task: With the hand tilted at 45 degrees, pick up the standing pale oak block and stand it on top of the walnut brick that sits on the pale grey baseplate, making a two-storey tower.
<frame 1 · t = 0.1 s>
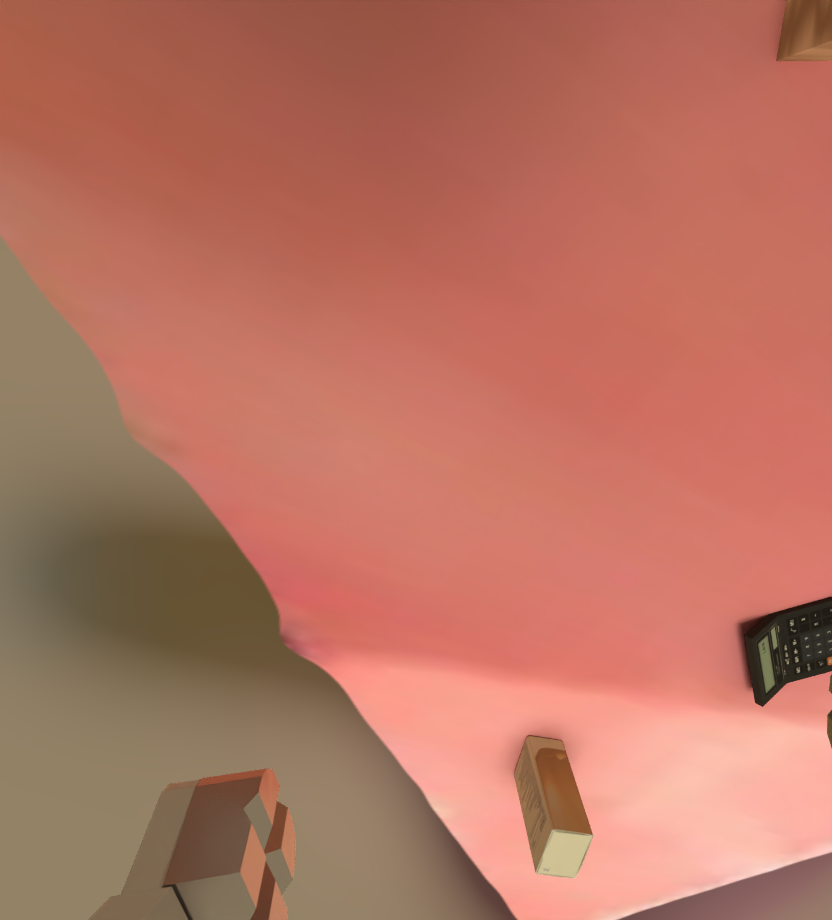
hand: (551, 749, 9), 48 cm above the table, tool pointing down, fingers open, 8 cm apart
calculator: (791, 639, 69), on the table
oak block: (808, 29, 48), on the table
skincare box: (537, 755, 74), on the table
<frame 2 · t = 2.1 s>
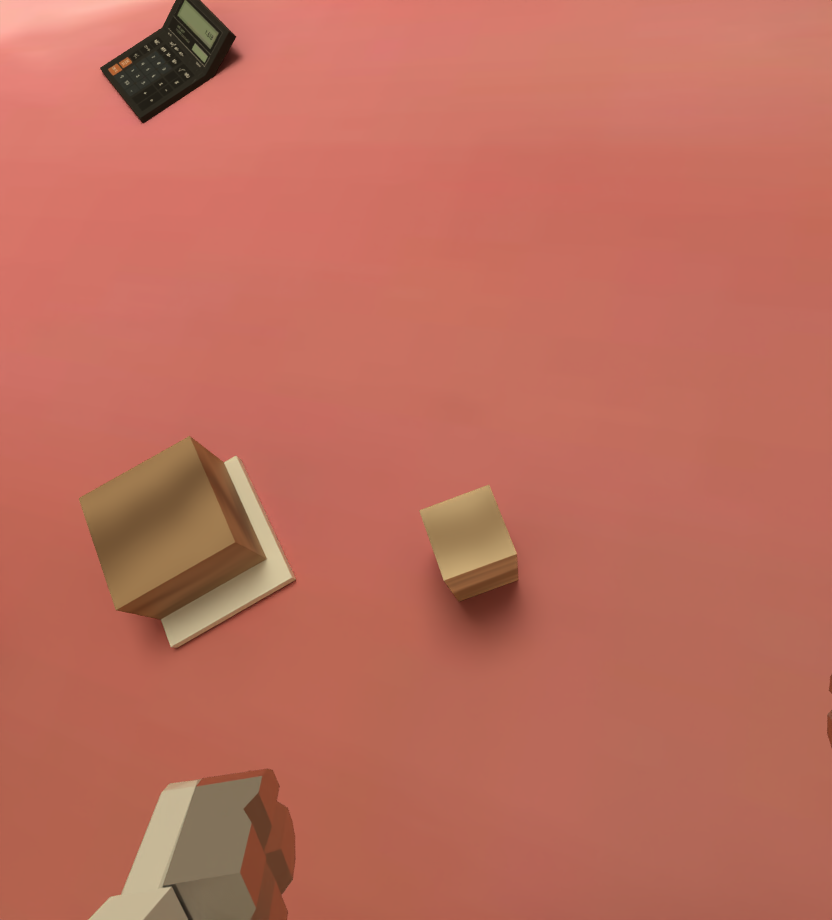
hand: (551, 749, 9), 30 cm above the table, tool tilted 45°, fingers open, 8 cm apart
calculator: (175, 69, 63), on the table
oak block: (477, 561, 41), on the table
walnut brick: (193, 538, 44), point 1 cm above the table, touching baseplate
baseplate: (210, 549, 44), on the table
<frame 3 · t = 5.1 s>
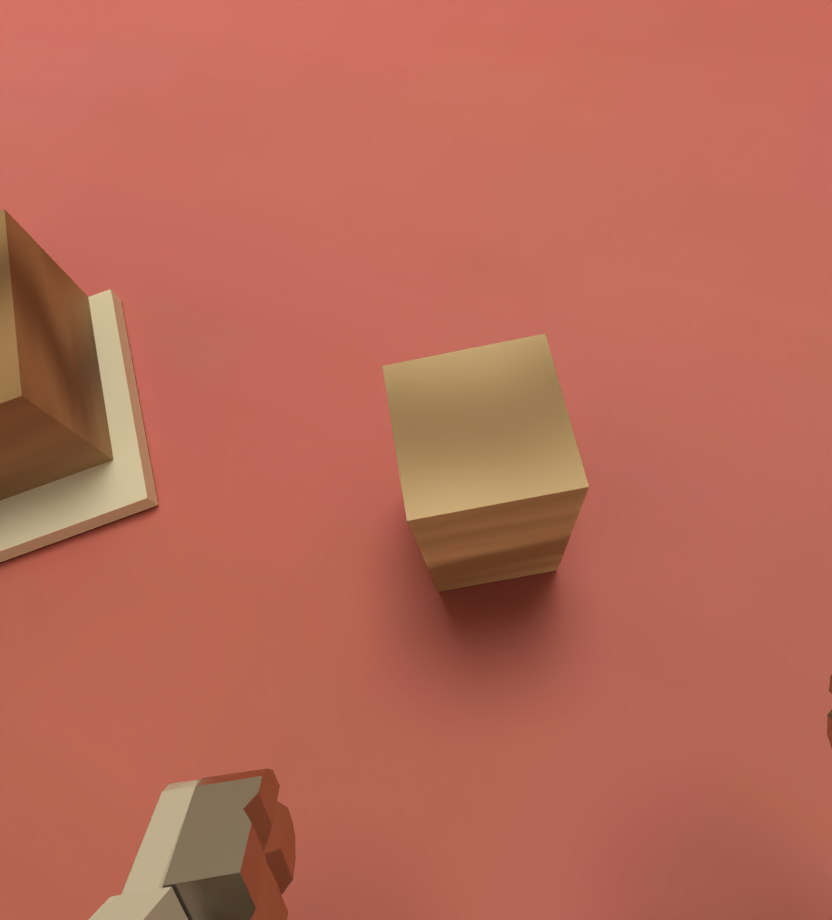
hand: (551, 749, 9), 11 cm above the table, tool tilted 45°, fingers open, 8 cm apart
oak block: (485, 524, 22), on the table
walnut brick: (3, 407, 25), point 1 cm above the table, touching baseplate
baseplate: (31, 433, 26), on the table
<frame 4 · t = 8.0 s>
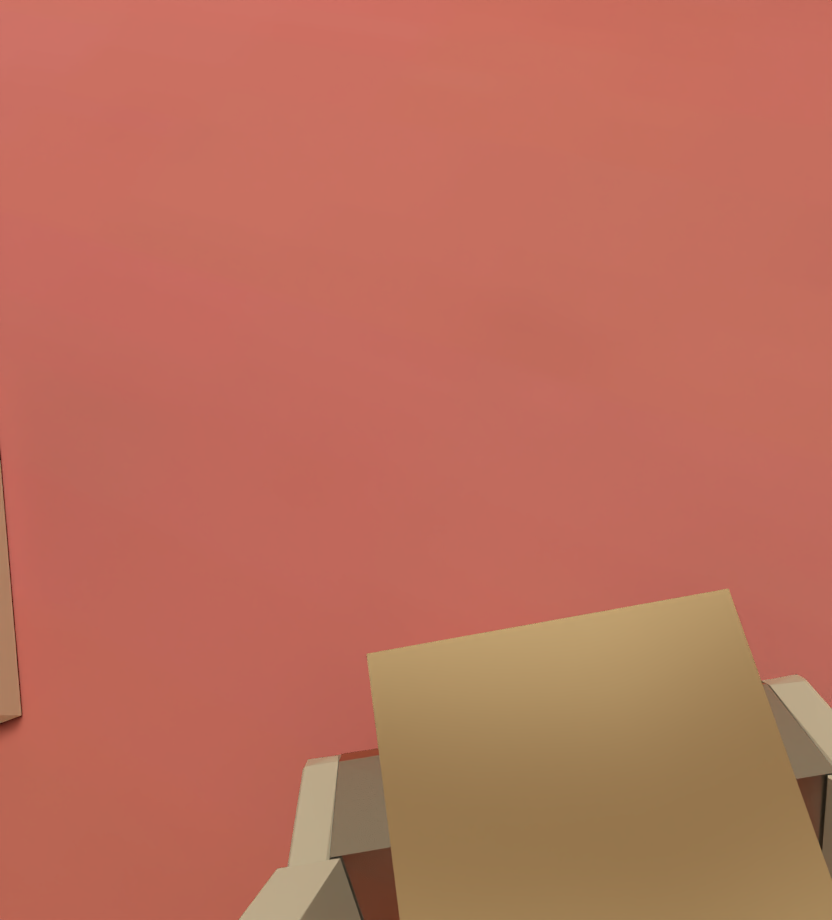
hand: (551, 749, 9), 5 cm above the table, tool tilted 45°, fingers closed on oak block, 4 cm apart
oak block: (538, 771, 14), on the table, touching gripper
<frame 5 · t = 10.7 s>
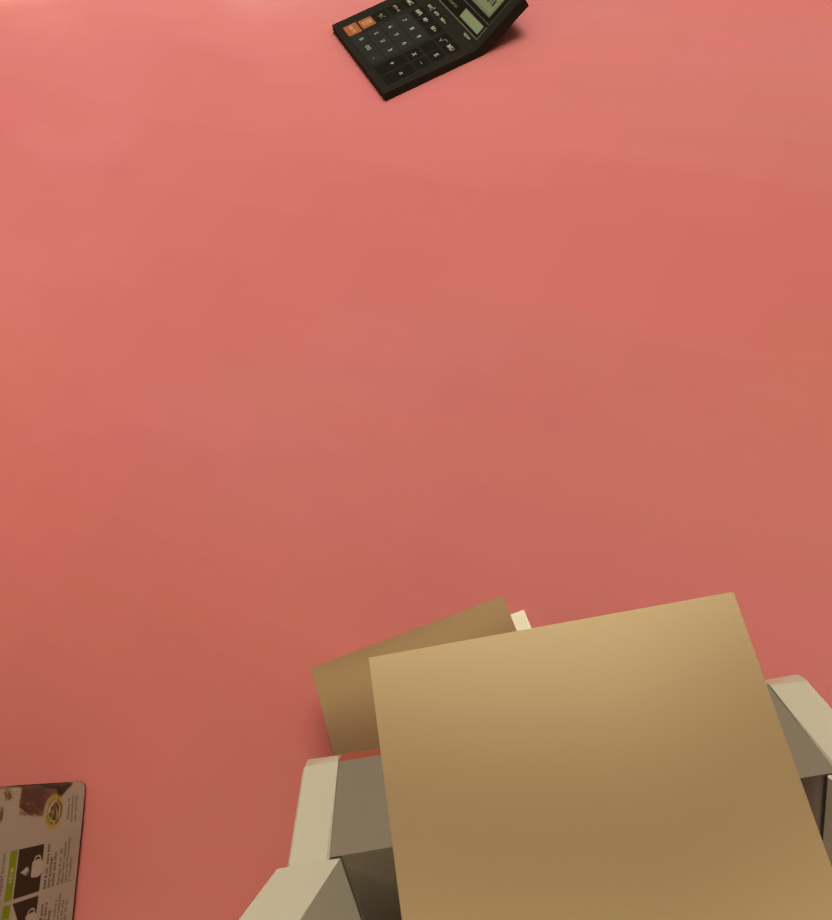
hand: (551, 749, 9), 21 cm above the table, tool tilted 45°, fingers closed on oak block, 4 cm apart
calculator: (428, 39, 48), on the table
oak block: (540, 773, 14), point 16 cm above the table, touching gripper
walnut brick: (452, 737, 28), point 1 cm above the table, touching baseplate
when the fingers open (12 cm above the table, at t = 13.7 s): oak block stays where it is, resting on walnut brick.
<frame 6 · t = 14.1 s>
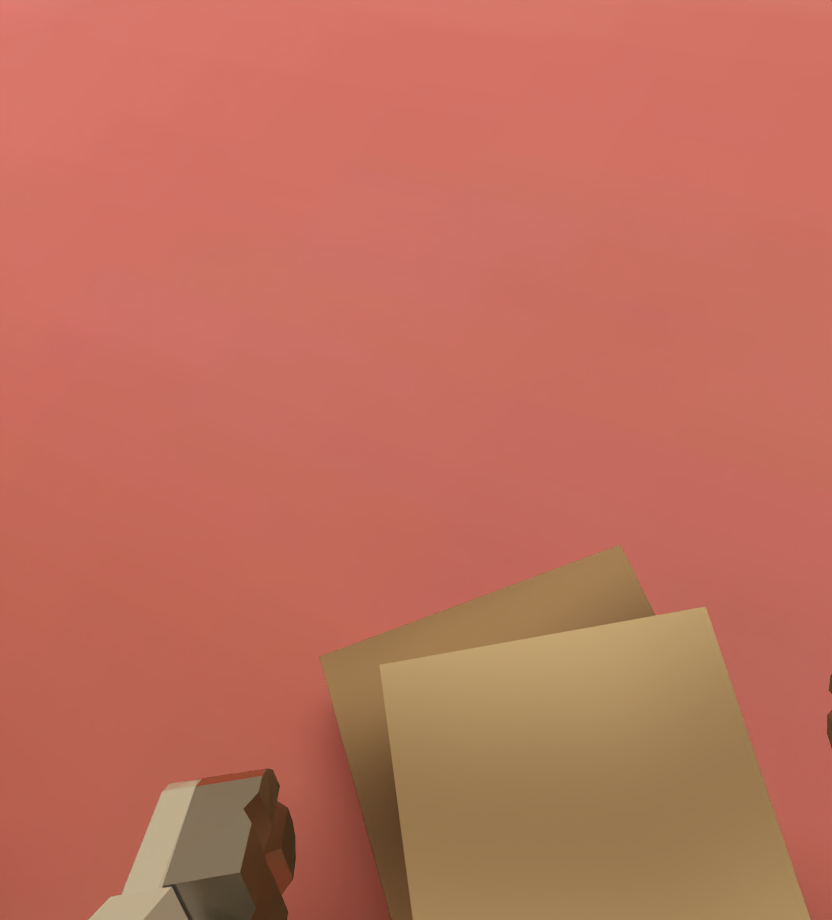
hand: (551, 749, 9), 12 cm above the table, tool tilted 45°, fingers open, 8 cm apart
oak block: (536, 770, 14), point 6 cm above the table, touching walnut brick
walnut brick: (524, 757, 19), point 1 cm above the table, touching baseplate, oak block
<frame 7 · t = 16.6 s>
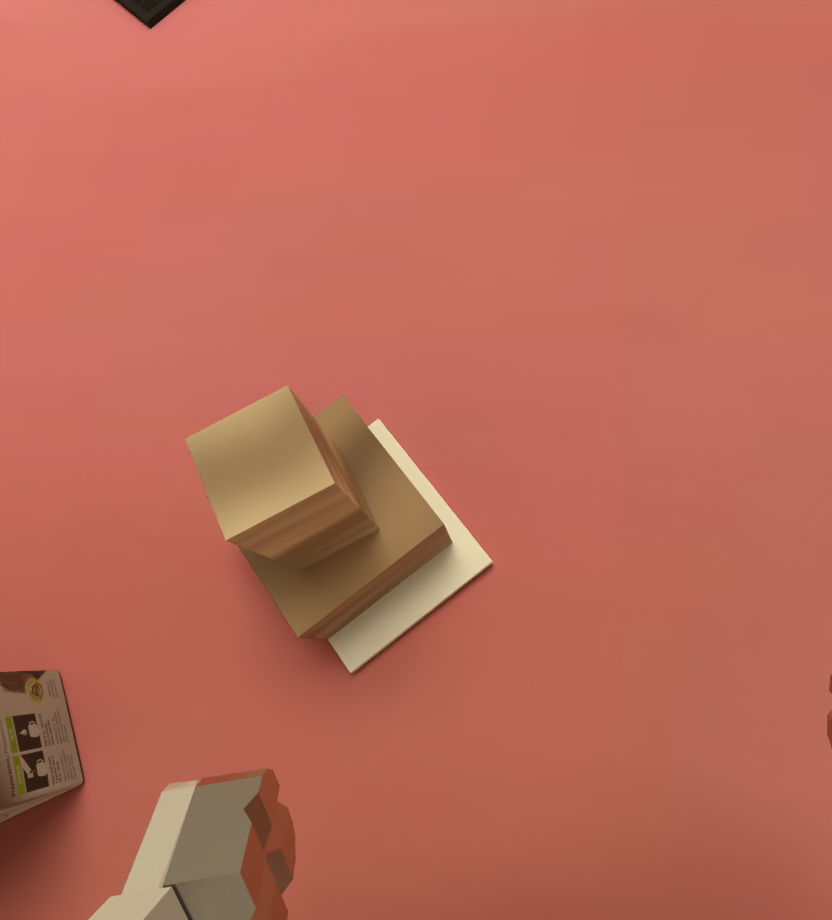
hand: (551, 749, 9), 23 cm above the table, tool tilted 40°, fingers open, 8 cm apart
oak block: (321, 510, 29), point 6 cm above the table, touching walnut brick
walnut brick: (346, 529, 34), point 1 cm above the table, touching baseplate, oak block
baseplate: (368, 541, 34), on the table
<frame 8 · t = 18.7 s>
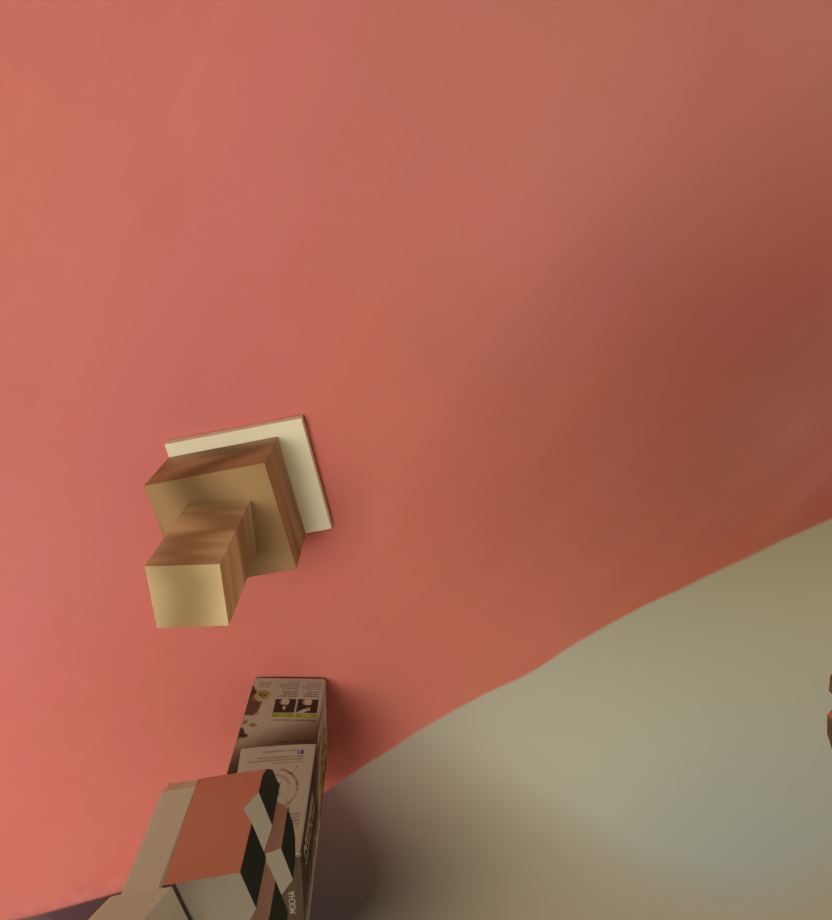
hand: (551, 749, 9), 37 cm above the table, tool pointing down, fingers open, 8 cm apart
oak block: (223, 528, 43), point 6 cm above the table, touching walnut brick
coffee box: (292, 716, 57), on the table
walnut brick: (239, 496, 47), point 1 cm above the table, touching baseplate, oak block
baseplate: (252, 483, 48), on the table
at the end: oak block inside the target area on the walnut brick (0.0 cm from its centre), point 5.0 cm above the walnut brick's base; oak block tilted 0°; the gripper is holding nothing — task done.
